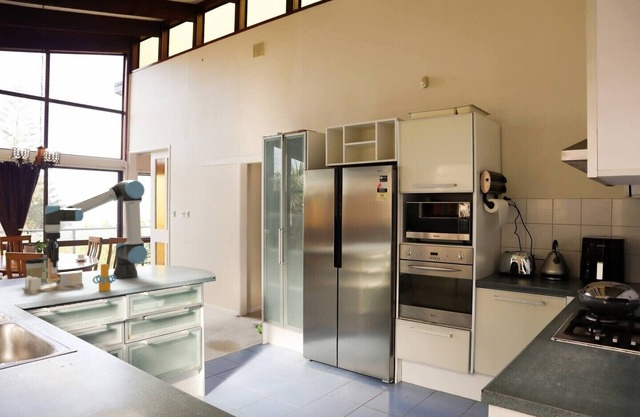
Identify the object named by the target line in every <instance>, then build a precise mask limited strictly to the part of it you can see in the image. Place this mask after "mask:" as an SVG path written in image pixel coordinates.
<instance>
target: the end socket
mask: <svg viewBox="0 0 640 417" xmlns="http://www.w3.org/2000/svg"><path fill="white" fill-rule="evenodd" d="M24 282H25V283H24V289H26V290H29V291H30V290H38V289H41V287H42V280H41V278H37V277H30V276H27V275H26V278H24Z"/></svg>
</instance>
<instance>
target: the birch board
mask: <svg viewBox="0 0 640 417" xmlns="http://www.w3.org/2000/svg"><path fill="white" fill-rule="evenodd" d="M83 287H84V283H82V284H77V285H70V286H62V287H60V286H57V285H56V284H52V285H44V286H41V289H38V290H30V291H29V290H26V289H25V288H23V292H24V293H26V294H29V295H31V294H38V293H47V292H52V291H53V292H54V291H62V290H69V289H76V288H77V289H78V288H83Z"/></svg>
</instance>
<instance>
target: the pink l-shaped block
mask: <svg viewBox="0 0 640 417" xmlns="http://www.w3.org/2000/svg"><path fill="white" fill-rule="evenodd" d="M50 261H52V258H48V278H46V280H45V283H46V284H52V283H56V282H60V276H58V273H59V272H58V261H59V260H58V261H57V273H51V262H50Z"/></svg>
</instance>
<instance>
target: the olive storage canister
mask: <svg viewBox="0 0 640 417" xmlns="http://www.w3.org/2000/svg"><path fill="white" fill-rule="evenodd" d="M43 263H44V261H43V259H38V258H28V259H26V260H25V262H24V264H25V266H26V267H25V269H26V271H25V272H26V277H27V276H30V277H37V278H42V271H43Z"/></svg>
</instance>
